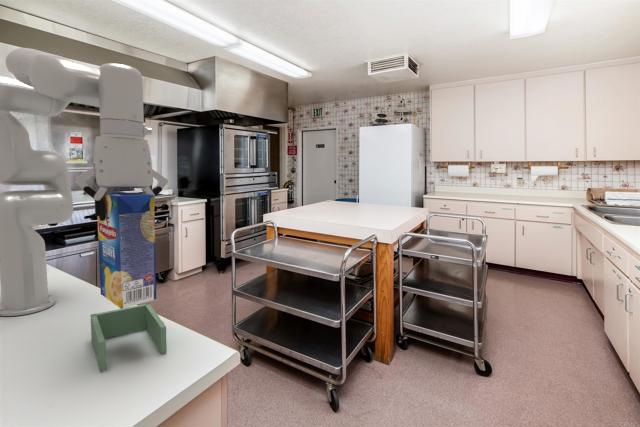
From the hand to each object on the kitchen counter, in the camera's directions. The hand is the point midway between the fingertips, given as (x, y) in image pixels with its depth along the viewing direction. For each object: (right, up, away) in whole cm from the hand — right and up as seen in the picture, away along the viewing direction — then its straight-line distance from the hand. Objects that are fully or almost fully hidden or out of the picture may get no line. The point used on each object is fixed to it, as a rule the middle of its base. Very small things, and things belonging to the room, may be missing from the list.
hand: (125, 218), depth 70 cm
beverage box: (-1, -17, +2) cm, 17 cm away
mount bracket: (-2, -28, +5) cm, 29 cm away
